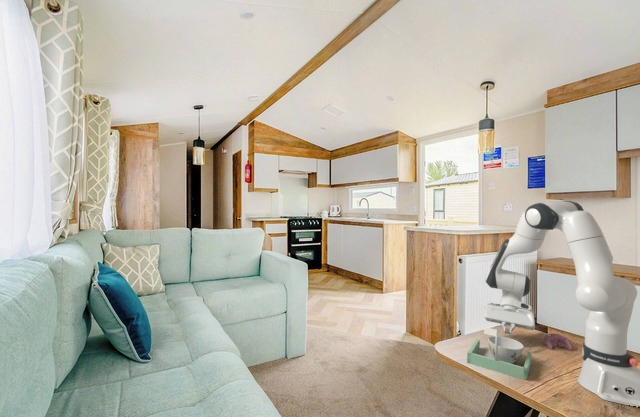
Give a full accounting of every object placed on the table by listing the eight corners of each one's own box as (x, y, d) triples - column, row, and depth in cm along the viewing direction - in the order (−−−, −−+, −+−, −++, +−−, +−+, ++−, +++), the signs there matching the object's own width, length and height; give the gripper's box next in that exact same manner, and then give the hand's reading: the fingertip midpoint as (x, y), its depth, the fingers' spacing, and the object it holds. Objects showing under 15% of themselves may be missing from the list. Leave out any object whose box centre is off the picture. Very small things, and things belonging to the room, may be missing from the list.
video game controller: (567, 350, 145) (563, 334, 148) (574, 350, 141) (569, 333, 144) (544, 349, 146) (541, 333, 149) (550, 349, 142) (546, 332, 145)
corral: (531, 362, 130) (532, 323, 130) (526, 380, 117) (528, 337, 117) (476, 347, 143) (477, 312, 143) (467, 362, 129) (468, 323, 129)
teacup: (530, 367, 126) (531, 347, 126) (503, 370, 124) (503, 349, 124) (502, 350, 141) (502, 332, 141) (477, 352, 139) (477, 334, 138)
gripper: (485, 298, 157) (481, 324, 150) (535, 307, 145) (533, 335, 137) (487, 305, 161) (483, 330, 153) (536, 314, 148) (534, 342, 141)
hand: (507, 333), depth 145 cm, fingers closed
